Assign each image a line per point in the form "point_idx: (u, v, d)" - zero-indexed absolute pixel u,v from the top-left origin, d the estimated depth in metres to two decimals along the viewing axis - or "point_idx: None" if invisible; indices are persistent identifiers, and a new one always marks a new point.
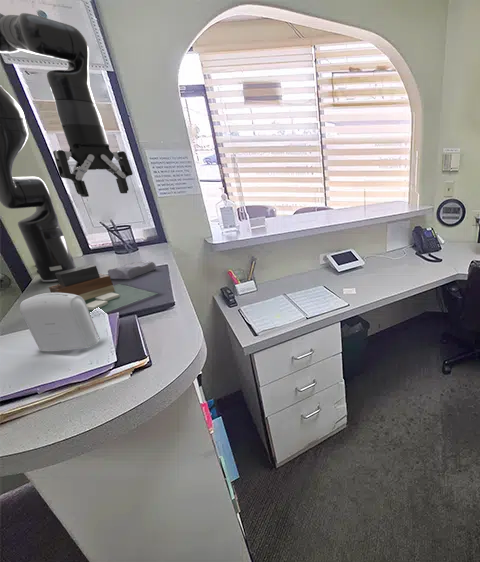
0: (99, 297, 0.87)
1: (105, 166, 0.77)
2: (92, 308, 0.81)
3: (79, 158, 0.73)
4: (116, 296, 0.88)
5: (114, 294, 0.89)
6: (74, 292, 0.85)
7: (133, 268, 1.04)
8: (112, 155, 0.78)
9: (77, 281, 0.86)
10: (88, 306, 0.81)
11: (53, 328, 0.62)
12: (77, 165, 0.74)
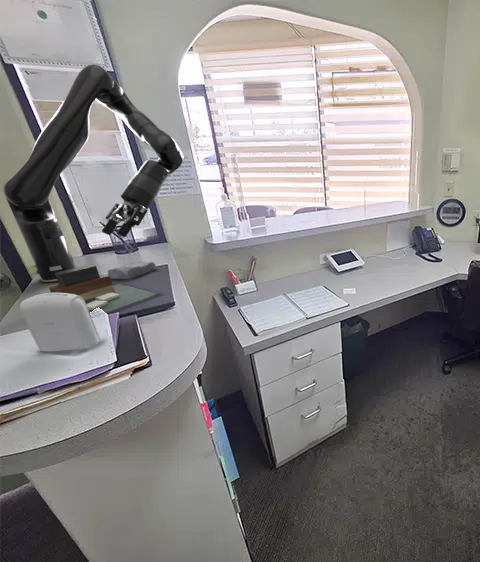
0: (99, 297, 0.87)
1: None
2: (92, 308, 0.81)
3: None
4: (116, 296, 0.88)
5: (114, 294, 0.89)
6: (74, 292, 0.85)
7: (133, 268, 1.04)
8: (133, 207, 0.93)
9: (77, 281, 0.86)
10: (88, 306, 0.81)
11: (53, 328, 0.62)
12: None
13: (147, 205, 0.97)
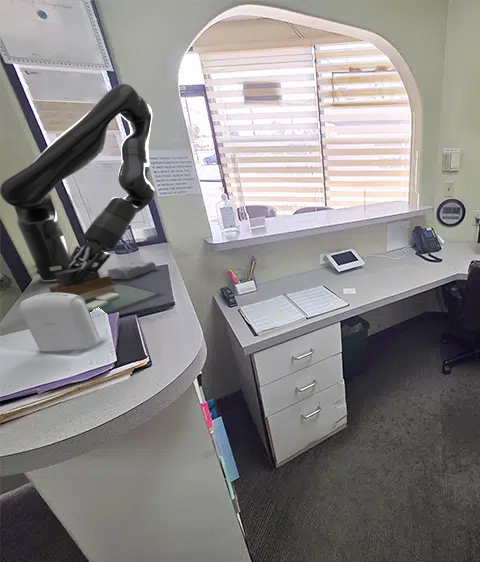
0: (99, 297, 0.87)
1: None
2: (92, 308, 0.81)
3: None
4: (116, 296, 0.88)
5: (114, 294, 0.89)
6: (74, 292, 0.85)
7: (133, 268, 1.04)
8: (96, 250, 0.87)
9: None
10: (88, 306, 0.81)
11: (53, 328, 0.62)
12: None
13: (112, 246, 0.91)
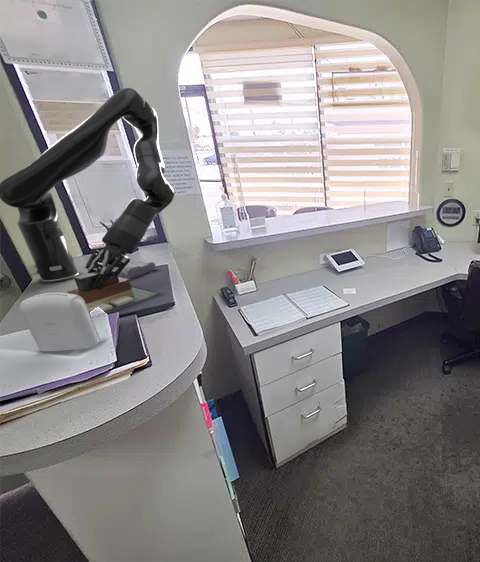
0: (113, 301, 0.84)
1: None
2: None
3: None
4: (130, 300, 0.85)
5: (128, 298, 0.86)
6: (93, 297, 0.81)
7: (133, 268, 1.04)
8: (115, 254, 0.83)
9: None
10: (92, 309, 0.79)
11: (53, 328, 0.62)
12: None
13: (132, 249, 0.87)
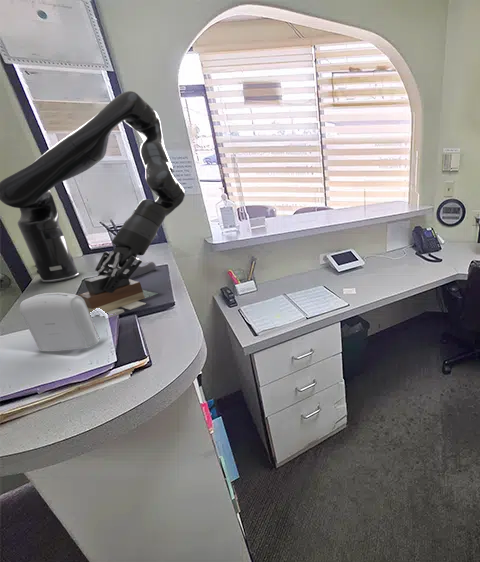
0: (125, 306, 0.82)
1: None
2: None
3: None
4: None
5: (141, 303, 0.84)
6: (104, 300, 0.79)
7: None
8: (126, 256, 0.81)
9: None
10: None
11: (53, 328, 0.62)
12: None
13: (143, 251, 0.85)
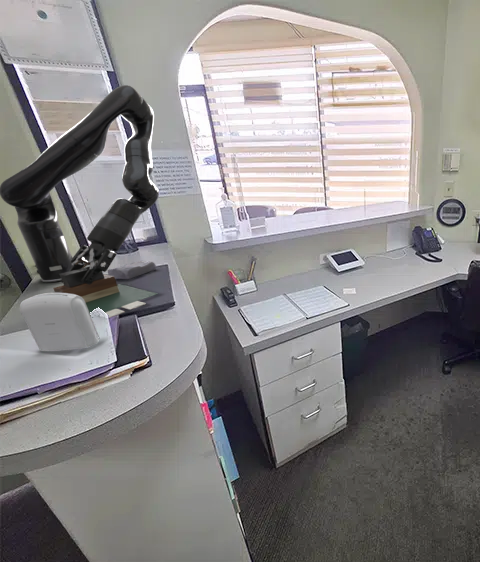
0: (125, 306, 0.82)
1: None
2: None
3: None
4: None
5: (141, 303, 0.84)
6: (79, 293, 0.84)
7: (133, 268, 1.04)
8: (100, 251, 0.86)
9: (82, 282, 0.85)
10: None
11: (53, 328, 0.62)
12: None
13: (116, 247, 0.90)
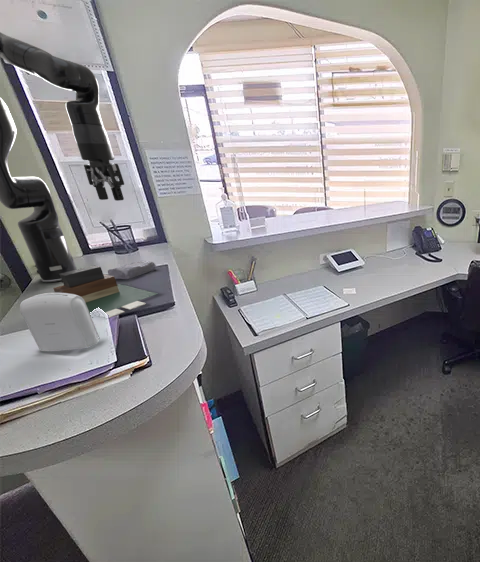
0: (125, 306, 0.82)
1: None
2: None
3: None
4: None
5: (141, 303, 0.84)
6: (79, 293, 0.84)
7: (133, 268, 1.04)
8: (104, 167, 0.90)
9: (82, 282, 0.85)
10: None
11: (53, 328, 0.62)
12: None
13: (111, 156, 0.92)
